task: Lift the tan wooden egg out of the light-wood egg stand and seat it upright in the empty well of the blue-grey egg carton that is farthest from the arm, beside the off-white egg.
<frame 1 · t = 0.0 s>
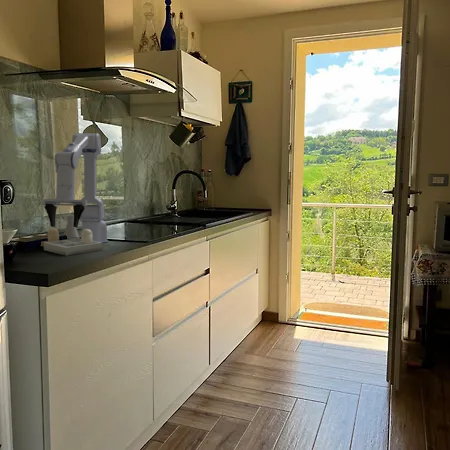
hand: (64, 227, 153), 11 cm above the counter, tool pointing down, fingers open, 7 cm apart
egg: (53, 237, 176), in the egg stand
flask: (71, 238, 196), on the counter
egg stand: (53, 245, 176), on the counter
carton: (73, 250, 169), on the counter
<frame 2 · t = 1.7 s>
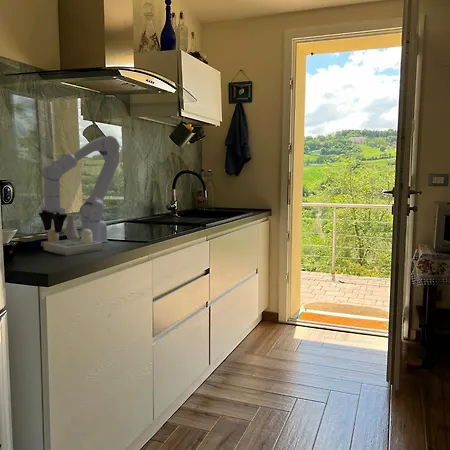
hand: (53, 231, 176), 6 cm above the counter, tool pointing down, fingers open, 7 cm apart
nothing on the counter moved.
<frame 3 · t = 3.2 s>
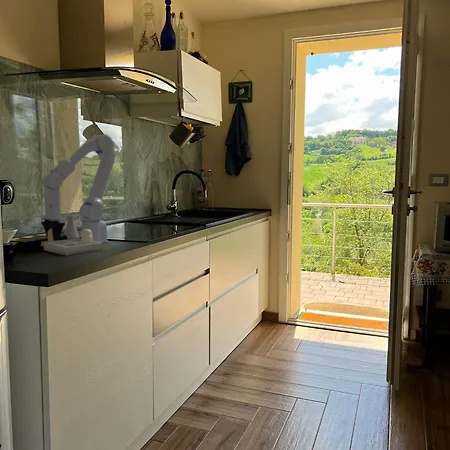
hand: (53, 239, 176), 2 cm above the counter, tool pointing down, fingers closed on egg, 4 cm apart
egg: (53, 237, 176), in the egg stand, touching gripper
everything else where it was.
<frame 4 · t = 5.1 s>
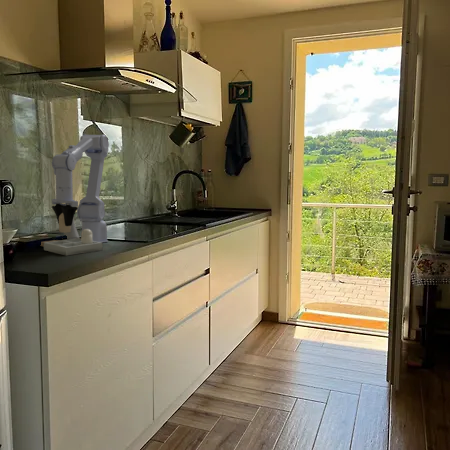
hand: (65, 225, 166), 9 cm above the counter, tool pointing down, fingers closed on egg, 4 cm apart
egg: (64, 222, 165), point 11 cm above the counter, touching gripper
everything else where it was.
when the fingers open (5 cm above the counter, at t = 7.1 s): egg drops 1 cm, resting on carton.
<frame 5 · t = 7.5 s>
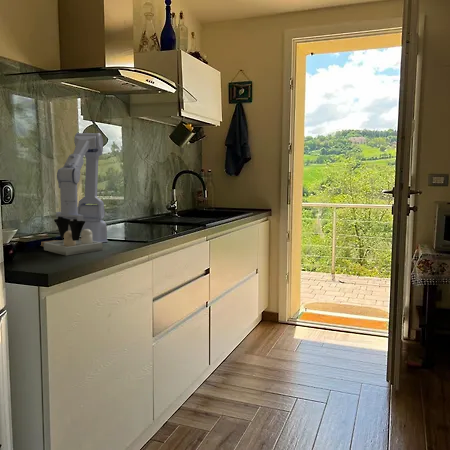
hand: (69, 239, 163), 5 cm above the counter, tool pointing down, fingers open, 7 cm apart
egg: (69, 240, 163), point 4 cm above the counter, touching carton
everything else where it was.
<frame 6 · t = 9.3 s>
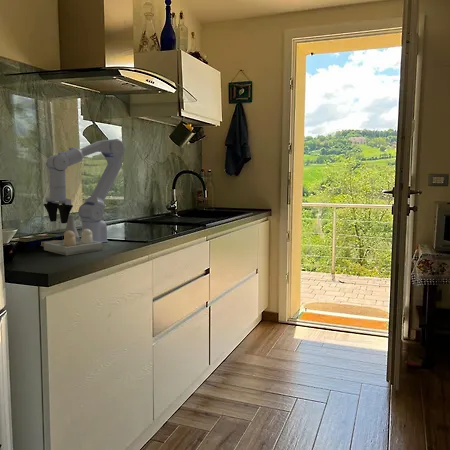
hand: (58, 222, 175), 9 cm above the counter, tool pointing down, fingers open, 7 cm apart
nothing on the counter moved.
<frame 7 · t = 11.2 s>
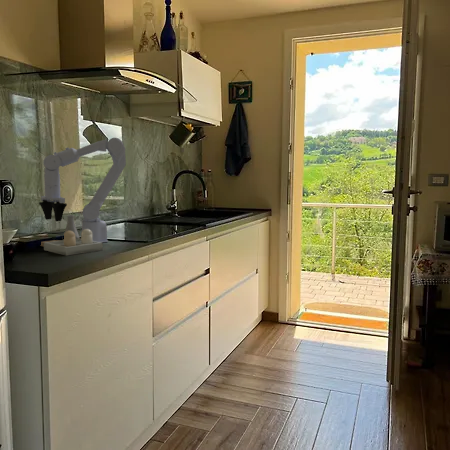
hand: (53, 220, 181), 9 cm above the counter, tool pointing down, fingers open, 7 cm apart
nothing on the counter moved.
at the end: egg 0.1 cm from the target spot on the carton, point 4.5 cm above the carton's base; egg tilted 0°; the gripper is holding nothing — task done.
